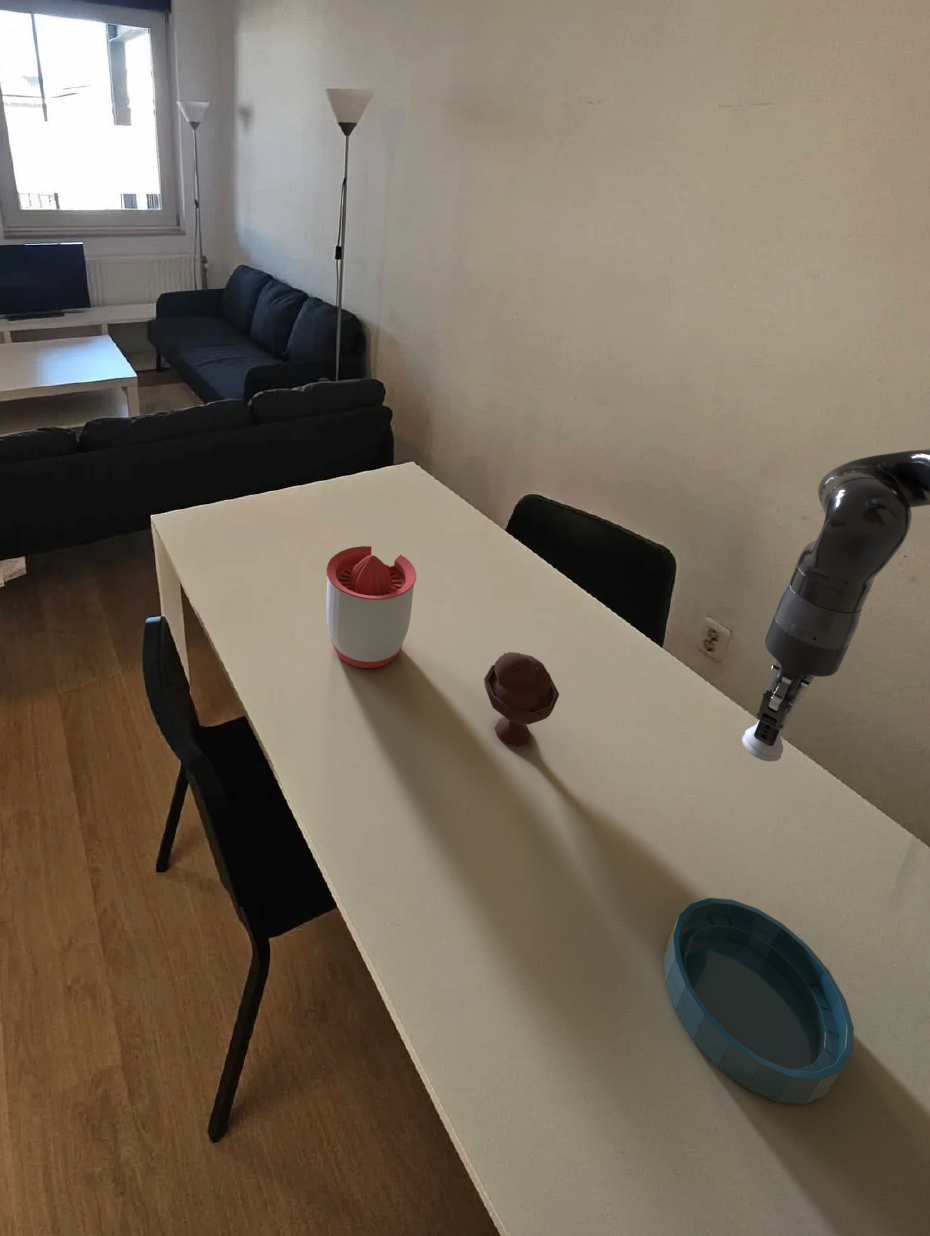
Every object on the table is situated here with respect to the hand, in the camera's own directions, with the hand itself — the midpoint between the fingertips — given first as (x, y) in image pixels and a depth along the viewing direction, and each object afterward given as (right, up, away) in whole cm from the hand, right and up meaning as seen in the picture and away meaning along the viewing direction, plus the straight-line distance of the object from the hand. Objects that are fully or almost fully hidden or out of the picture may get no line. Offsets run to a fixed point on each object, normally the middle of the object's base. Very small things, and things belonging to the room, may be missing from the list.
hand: (768, 732), depth 84 cm
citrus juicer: (-50, 0, +37) cm, 62 cm away
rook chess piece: (0, -3, +1) cm, 3 cm away
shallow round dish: (-12, -24, -13) cm, 29 cm away
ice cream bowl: (-28, -9, +19) cm, 35 cm away
